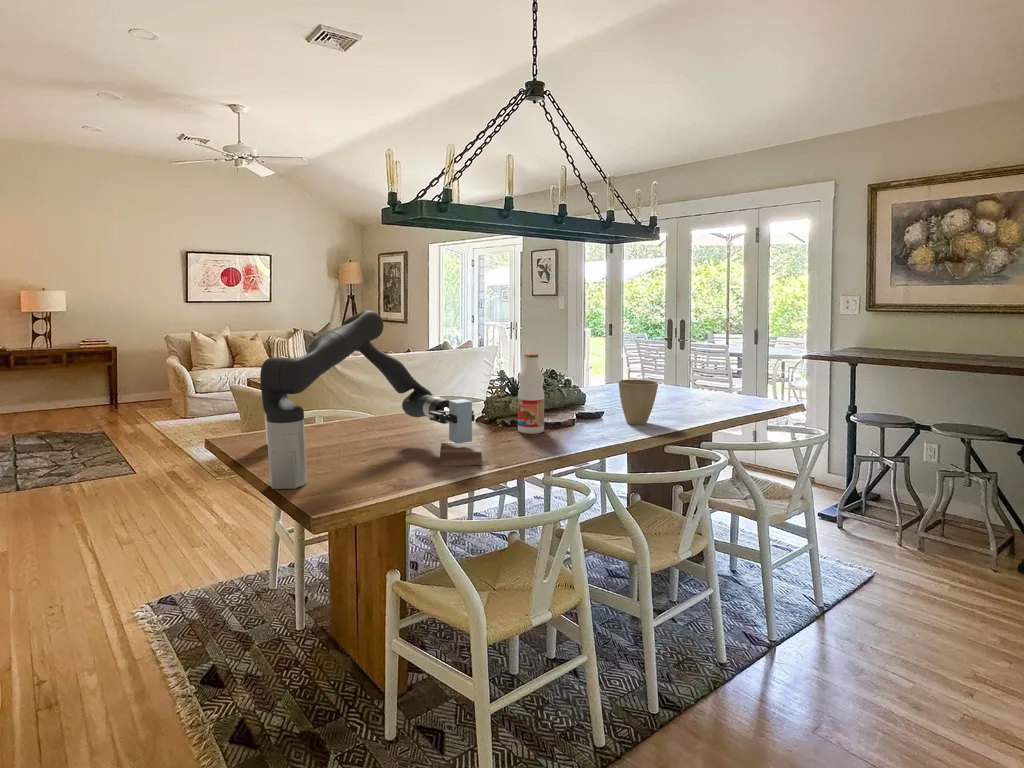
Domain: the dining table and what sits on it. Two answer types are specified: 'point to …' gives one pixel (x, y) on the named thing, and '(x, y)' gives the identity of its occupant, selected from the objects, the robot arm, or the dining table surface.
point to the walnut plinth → (460, 454)
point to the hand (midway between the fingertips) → (464, 419)
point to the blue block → (461, 421)
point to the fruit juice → (531, 397)
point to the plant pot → (637, 399)
